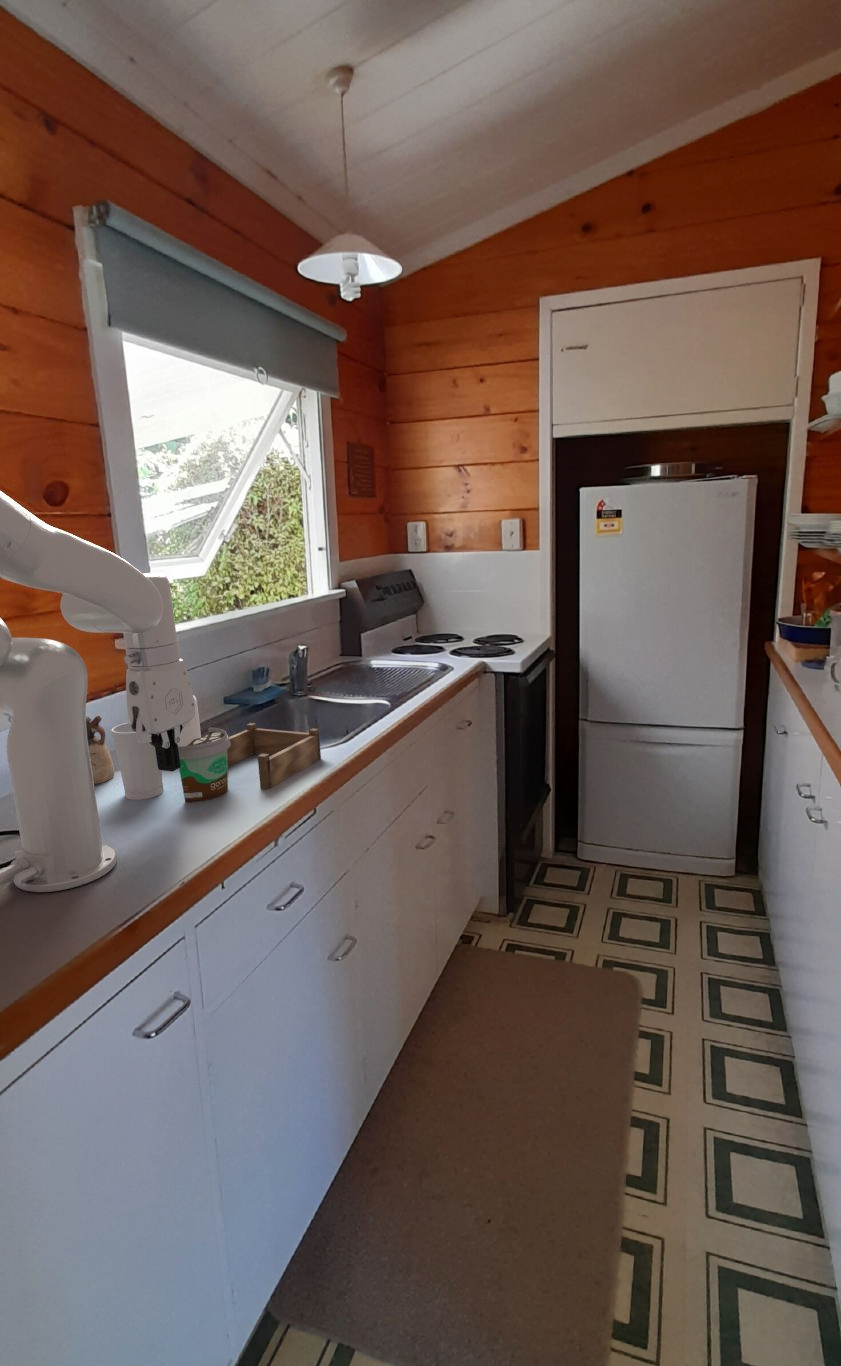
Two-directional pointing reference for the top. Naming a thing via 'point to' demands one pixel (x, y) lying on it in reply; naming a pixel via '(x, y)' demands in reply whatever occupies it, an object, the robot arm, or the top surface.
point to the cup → (137, 764)
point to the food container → (205, 766)
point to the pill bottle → (191, 729)
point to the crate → (275, 751)
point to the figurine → (98, 752)
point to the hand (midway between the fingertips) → (169, 768)
